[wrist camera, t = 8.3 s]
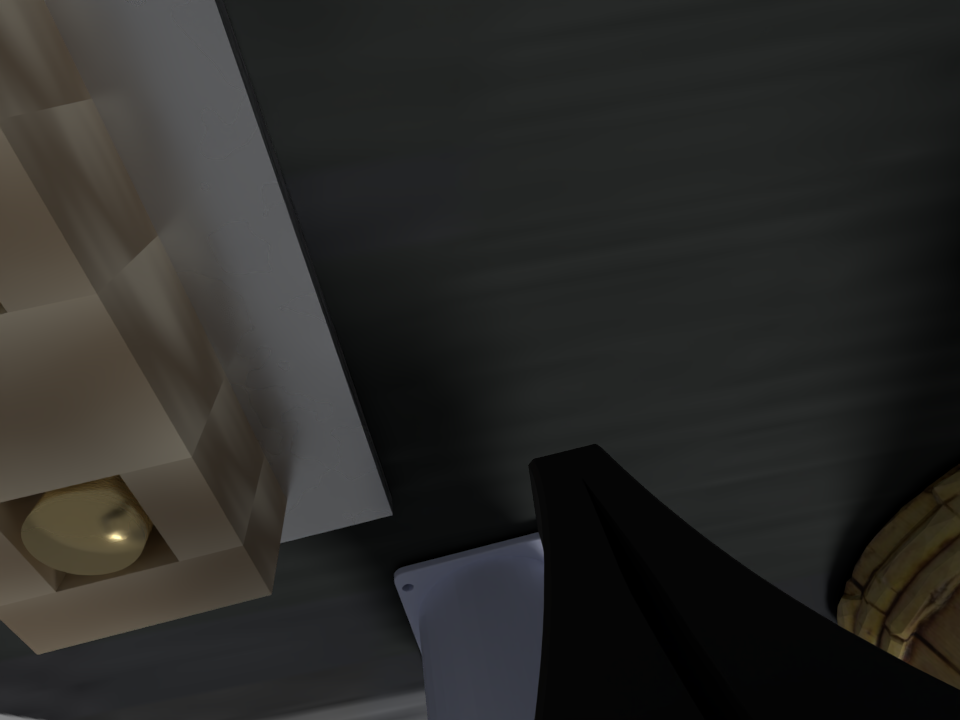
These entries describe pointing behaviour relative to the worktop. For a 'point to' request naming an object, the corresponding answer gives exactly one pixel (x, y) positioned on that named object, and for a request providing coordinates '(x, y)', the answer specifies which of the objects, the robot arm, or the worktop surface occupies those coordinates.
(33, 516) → the pin
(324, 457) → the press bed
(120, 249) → the housing
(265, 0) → the worktop surface
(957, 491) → the tankard
